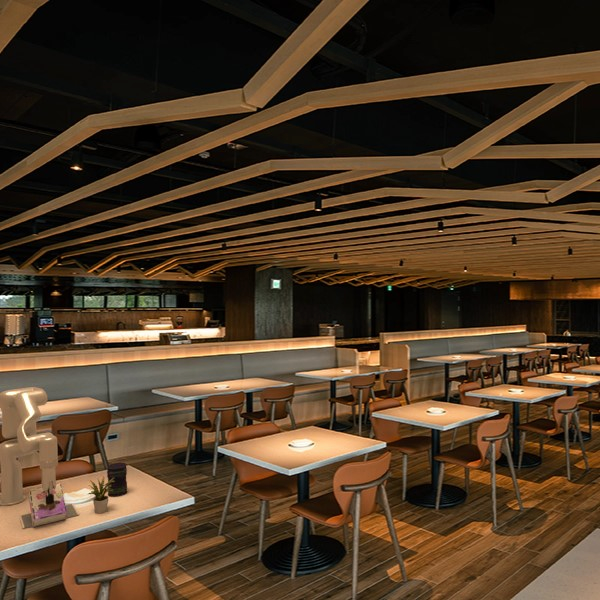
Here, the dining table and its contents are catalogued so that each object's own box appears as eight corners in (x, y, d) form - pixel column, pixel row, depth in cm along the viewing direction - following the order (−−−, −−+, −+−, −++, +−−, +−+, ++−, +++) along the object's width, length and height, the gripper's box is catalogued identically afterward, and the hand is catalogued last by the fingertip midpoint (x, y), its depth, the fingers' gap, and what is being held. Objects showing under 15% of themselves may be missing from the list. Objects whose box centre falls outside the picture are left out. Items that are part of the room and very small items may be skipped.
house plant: (120, 513, 241) (119, 479, 241) (89, 520, 234) (88, 485, 234) (115, 503, 253) (114, 471, 254) (85, 509, 247) (84, 476, 247)
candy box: (33, 520, 225) (28, 489, 236) (32, 527, 228) (28, 496, 239) (67, 512, 233) (60, 482, 244) (65, 519, 236) (59, 489, 247)
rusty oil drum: (130, 490, 272) (129, 462, 272) (122, 497, 262) (121, 468, 262) (112, 490, 272) (112, 462, 273) (104, 497, 263) (103, 468, 263)
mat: (19, 516, 241) (19, 515, 241) (73, 504, 254) (73, 503, 254) (22, 529, 227) (22, 528, 227) (79, 515, 240) (79, 514, 240)
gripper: (37, 461, 235) (38, 500, 235) (41, 469, 222) (42, 511, 222) (55, 457, 239) (56, 496, 239) (60, 466, 226) (61, 506, 226)
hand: (49, 503), depth 230 cm, fingers closed
